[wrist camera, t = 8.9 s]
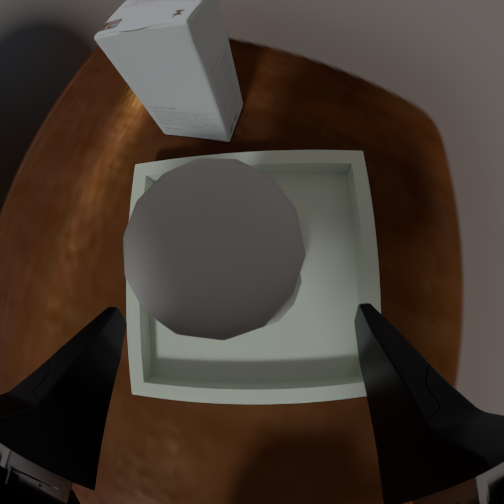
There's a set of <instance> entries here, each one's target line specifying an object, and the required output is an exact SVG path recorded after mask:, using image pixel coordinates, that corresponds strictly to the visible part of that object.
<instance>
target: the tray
mask: <svg viewBox="0 0 504 504" xmlns="http://www.w3.org/2000/svg"><path fill="white" fill-rule="evenodd" d="M197 158H217V159H237V160H239V161H242V162H244V163H246V164H248V165H250V166H252V167H254V168H256V169H259V170H261V171H263V172H265V173H267V174H269V175H271V176H272V177H273V179H274V180H275V181H276V183H277V184H278V185H279V186H280V188H281V189H282V191H283V192H284V193H285V195H286V196H287V197H288V199H289V200H290V201H291V203H292V204H293V205H294V207H295V208H296V211H297V214H298V218H299V223H300V228H301V234H302V239H303V244H304V250H305V258H304V261H303V265H302V268H301V271H300V274H301V280H302V282H301V286H300V289H299V292H298V295H297V298H296V301H295V304H294V305H293V306H292V307H291V308H290V309H289V311H288V312H287V313H286V314H285V315H284V316H283V317H282V318H281V319H280V320H279V321H278V322H276V323H273V324H270V325H267V326H265V327H262V328H259V329H256V330H253V331H250V332H247V333H244V334H242V335H239V336H236V337H233V338H230V339H227V340H216V339H208V338H200V337H192V336H185V335H179V334H175V333H174V332H173V331H171V330H170V329H168V328H167V327H166V326H164V325H163V324H161V323H160V322H159V321H157V320H156V319H155V318H153V317H152V316H151V315H149V314H148V313H147V312H145V311H144V310H143V308H142V306H141V305H140V303H139V301H138V299H137V297H136V296H135V294H134V292H133V290H132V288H131V286H130V285H129V283H128V281H127V279H126V313H127V339H128V355H129V368H130V379H131V388H132V394H134V395H141V396H147V397H154V398H162V399H170V400H180V401H190V402H203V403H221V404H289V403H307V402H320V401H331V400H340V399H348V398H356V397H363V396H367V395H366V390H365V385H364V381H363V376H362V372H361V368H360V363H359V357H358V348H357V340H356V333H355V325H354V320H355V316H356V312H357V308H358V305H359V304H362V303H370V304H371V305H372V306H373V307H374V308H376V309H377V310H378V311H379V312H380V313H381V296H380V276H379V262H378V250H377V240H376V230H375V222H374V214H373V207H372V200H371V193H370V187H369V181H368V175H367V169H366V164H365V159H364V154H363V151H354V150H277V151H255V152H239V153H225V154H214V155H203V156H194V157H185V158H177V159H169V160H162V161H155V162H148V163H142V164H136V165H135V170H134V178H133V186H132V195H131V205H130V216H129V220H130V217H131V214H132V212H133V209H134V207H135V204H136V201H137V200H138V199H139V198H140V197H141V196H142V195H143V194H144V193H145V192H146V191H147V190H148V189H149V188H150V187H151V186H152V185H153V183H154V182H155V181H156V180H157V179H158V178H159V177H160V176H161V175H162V174H164V173H166V172H168V171H170V170H172V169H175V168H177V167H179V166H181V165H184V164H186V163H188V162H190V161H193V160H195V159H197Z"/></svg>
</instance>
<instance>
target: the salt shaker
mask: <svg viewBox="0 0 504 504" xmlns="http://www.w3.org/2000/svg"><path fill="white" fill-rule="evenodd" d="M123 244H124V268H125V277H126V279H127V281H128V283H129V285H130V286H131V288H132V290H133V292H134V294H135V296H136V297H137V299H138V301H139V303H140V305H141V306H142V308H143V310H144V311H145V312H147V313H148V314H149V315H151V316H152V317H153V318H155V319H156V320H157V321H159V322H160V323H161V324H163V325H164V326H166V327H167V328H168V329H170V330H171V331H173V332H174V333H175V334H179V335H185V336H192V337H200V338H208V339H216V340H227V339H230V338H233V337H236V336H239V335H242V334H244V333H247V332H250V331H253V330H256V329H259V328H262V327H265V326H267V325H270V324H273V323H276V322H278V321H279V320H280V319H281V318H282V317H283V316H284V315H285V314H286V313H287V312H288V311H289V309H290V308H291V307H292V306H293V305H294V304H295V301H296V298H297V295H298V292H299V289H300V286H301V282H302V280H301V274H300V271H301V268H302V265H303V261H304V258H305V250H304V244H303V239H302V234H301V228H300V223H299V218H298V214H297V211H296V208H295V207H294V205H293V204H292V203H291V201H290V200H289V199H288V197H287V196H286V195H285V193H284V192H283V191H282V189H281V188H280V186H279V185H278V184H277V183H276V181H275V180H274V179H273V177H272V176H271V175H269V174H267V173H265V172H263V171H261V170H259V169H256V168H254V167H252V166H250V165H248V164H246V163H244V162H242V161H239V160H237V159H217V158H197V159H195V160H193V161H190V162H188V163H186V164H184V165H181V166H179V167H177V168H175V169H172V170H170V171H168V172H166V173H164V174H162V175H161V176H160V177H159V178H158V179H157V180H156V181H155V182H154V183H153V185H152V186H151V187H150V188H149V189H148V190H147V191H146V192H145V193H144V194H143V195H142V196H141V197H140V198H139V199H138V200H137V201H136V204H135V207H134V209H133V212H132V214H131V217H130V220H129V223H128V225H127V228H126V231H125V234H124V237H123Z"/></svg>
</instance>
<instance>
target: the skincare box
mask: <svg viewBox="0 0 504 504" xmlns="http://www.w3.org/2000/svg"><path fill="white" fill-rule="evenodd" d="M94 39H95V41H96V42H97V43H98V45H99V46H100V47H101V49H102V50H103V51H104V53H105V54H106V55H107V57H108V58H109V59H110V61H111V62H112V63H113V65H114V66H115V67H116V69H117V70H118V72H119V73H120V74H121V76H122V77H123V78H124V80H125V81H126V82H127V84H128V85H129V86H130V88H131V89H132V90H133V92H134V93H135V94H136V96H137V97H138V99H139V100H140V101H141V103H142V104H143V105H144V107H145V108H146V109H147V111H148V112H149V113H150V115H151V116H152V117H153V119H154V120H155V122H156V123H157V124H158V126H159V127H160V128H161V130H162V131H163V132H164V134H169V135H179V136H188V137H196V138H204V139H212V140H219V141H226V142H230V140H231V137H232V135H233V132H234V129H235V126H236V123H237V121H238V118H239V115H240V112H241V110H242V107H243V101H242V97H241V93H240V88H239V83H238V79H237V75H236V70H235V66H234V61H233V57H232V53H231V49H230V44H229V40H228V35H227V32H226V28H225V23H224V20H223V15H222V12H221V8H220V3H219V0H127V1H126V2H124V3H123V4H122V5H121V6H120V7H119V8H118V10H117V11H116V12H115V13H114V14H113V15H112V16H111V17H110V19H108V21H107V22H106V23H105V24H104V25H103V27H102V28H101V29H100V30H99V31H98V33H97V34H96V35H95V37H94Z"/></svg>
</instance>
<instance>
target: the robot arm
mask: <svg viewBox="0 0 504 504" xmlns="http://www.w3.org/2000/svg"><path fill="white" fill-rule="evenodd" d="M354 325H355V333H356V340H357V348H358V357H359V363H360V368H361V372H362V376H363V381H364V385H365V390H366V395H367V399H368V404H369V409H370V414H371V420H372V425H373V430H374V436H375V442H376V448H377V454H378V460H379V468H380V475H381V483H382V491H383V500H384V504H402V503H406V502H409V501H413V504H504V416H501V415H497V414H491V413H487V412H484V411H482V410H480V409H478V408H476V407H475V406H474V405H473V404H472V403H471V402H470V401H468V400H467V399H466V398H465V397H464V396H463V395H461V394H460V393H459V392H458V391H457V390H456V389H455V388H454V387H453V386H451V385H450V384H449V383H448V382H447V381H446V380H445V379H444V378H443V377H442V376H441V375H440V374H439V373H438V372H437V371H436V370H435V369H434V368H433V367H432V366H431V365H430V364H429V363H428V362H427V360H426V359H425V358H424V357H423V356H422V355H421V354H420V353H419V352H418V351H417V350H416V349H415V348H414V347H413V346H412V345H411V344H410V343H409V342H408V341H407V340H406V339H405V338H404V337H403V336H402V335H401V334H400V332H399V331H398V330H397V329H396V328H395V327H394V326H393V325H392V324H391V323H390V322H389V321H388V320H387V319H386V318H385V317H384V316H383V315H382V314H381V313H380V312H379V311H378V310H377V309H376V308H374V307H373V306H372V305H371V304H370V303H362V304H359V305H358V308H357V312H356V316H355V320H354ZM125 330H126V321H125V319H124V317H123V315H122V313H121V311H120V309H119V308H118V307H108V308H107V309H106V310H104V311H103V312H102V313H101V314H100V315H98V316H97V317H96V318H95V319H94V320H92V321H91V322H90V323H89V324H88V325H87V326H85V327H84V328H83V329H82V330H81V331H80V332H79V333H77V334H76V335H75V336H74V337H73V338H72V339H70V340H69V341H68V342H67V343H66V344H65V345H64V346H63V347H61V348H60V349H59V350H58V351H57V352H56V353H55V354H54V355H52V356H51V357H50V358H49V359H48V360H47V361H46V362H45V363H44V364H42V365H41V366H40V367H39V368H38V369H37V370H36V371H34V372H33V373H32V374H31V375H29V376H28V377H27V378H26V379H24V380H23V381H22V382H21V383H19V384H18V385H17V386H16V387H14V388H13V389H12V390H10V391H9V392H7V393H4V394H1V395H0V504H80V502H79V500H78V499H77V497H76V495H75V493H74V491H73V490H72V489H71V488H72V484H73V482H74V483H76V484H78V485H81V486H83V487H86V488H89V489H91V490H95V485H96V477H97V470H98V463H99V456H100V450H101V448H100V447H101V444H102V438H103V433H104V428H105V423H106V418H107V413H108V408H109V404H110V400H111V395H112V391H113V387H114V383H115V379H116V375H117V371H118V367H119V363H120V359H121V354H122V347H123V342H124V336H125Z"/></svg>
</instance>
